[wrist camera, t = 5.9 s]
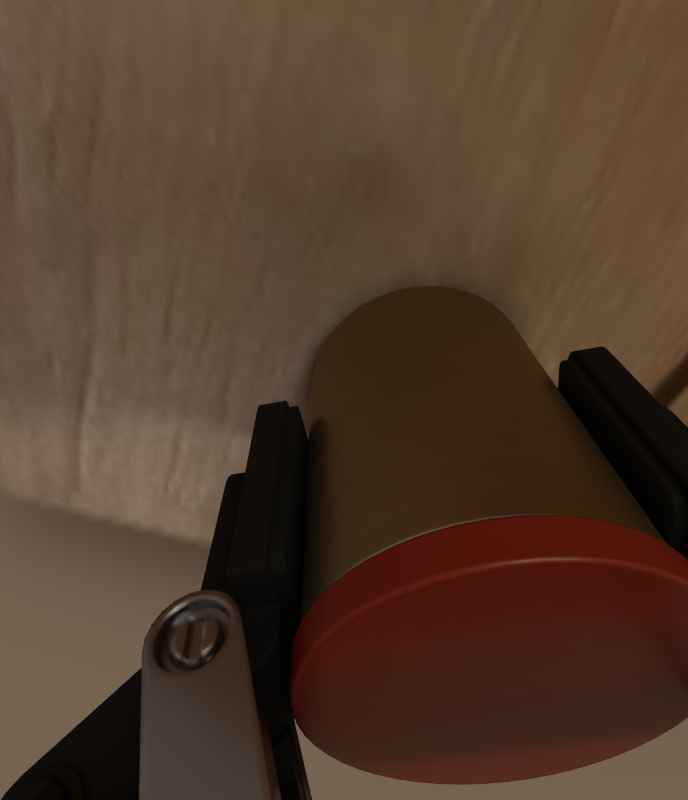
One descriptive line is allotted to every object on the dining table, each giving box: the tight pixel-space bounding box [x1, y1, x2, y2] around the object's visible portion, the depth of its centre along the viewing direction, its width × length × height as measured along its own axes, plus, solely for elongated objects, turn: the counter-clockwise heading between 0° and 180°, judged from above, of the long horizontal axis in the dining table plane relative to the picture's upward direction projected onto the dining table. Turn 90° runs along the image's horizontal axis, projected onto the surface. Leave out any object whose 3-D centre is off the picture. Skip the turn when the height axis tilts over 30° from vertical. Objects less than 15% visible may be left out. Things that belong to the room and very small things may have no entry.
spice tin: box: [289, 286, 688, 784], centre depth 9 cm, size 5×5×7 cm
